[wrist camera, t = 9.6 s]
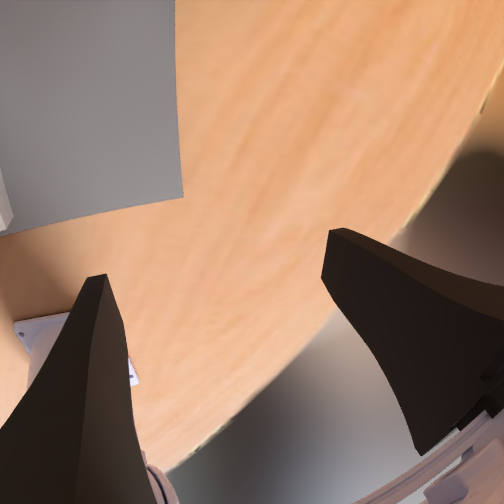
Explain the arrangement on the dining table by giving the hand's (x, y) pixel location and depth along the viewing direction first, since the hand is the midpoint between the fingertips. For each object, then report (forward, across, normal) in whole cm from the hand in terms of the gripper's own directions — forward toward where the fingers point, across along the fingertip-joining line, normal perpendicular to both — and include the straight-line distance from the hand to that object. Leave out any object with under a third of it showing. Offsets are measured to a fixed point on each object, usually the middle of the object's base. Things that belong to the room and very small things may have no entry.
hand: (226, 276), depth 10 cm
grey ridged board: (+9, +14, -6) cm, 18 cm away
